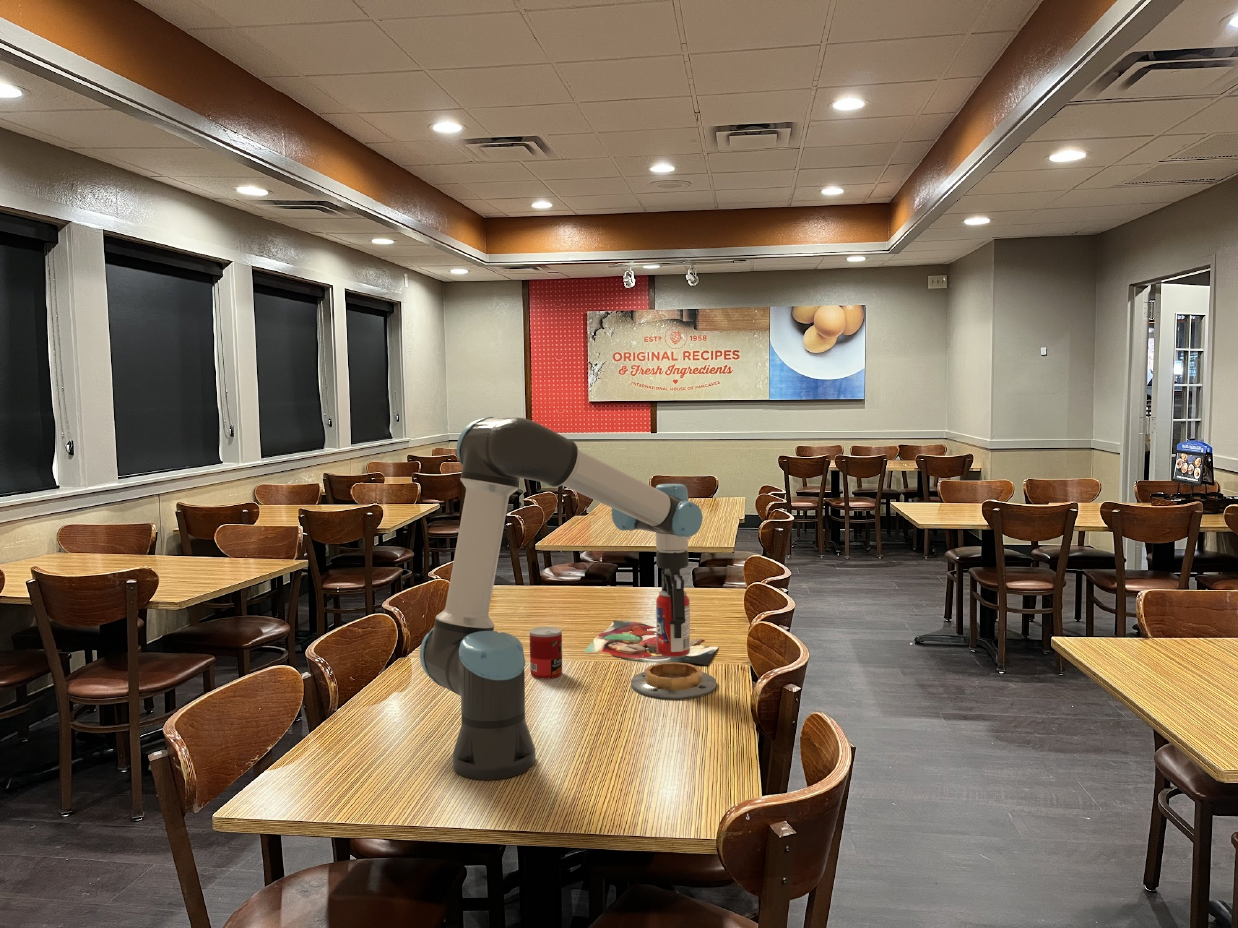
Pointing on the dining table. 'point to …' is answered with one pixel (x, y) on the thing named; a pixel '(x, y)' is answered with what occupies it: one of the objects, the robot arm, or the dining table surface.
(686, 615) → the soda can
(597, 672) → the dining table surface
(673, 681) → the bolted flange plate
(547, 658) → the canned food
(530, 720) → the dining table surface
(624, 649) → the colorful printed placemat
